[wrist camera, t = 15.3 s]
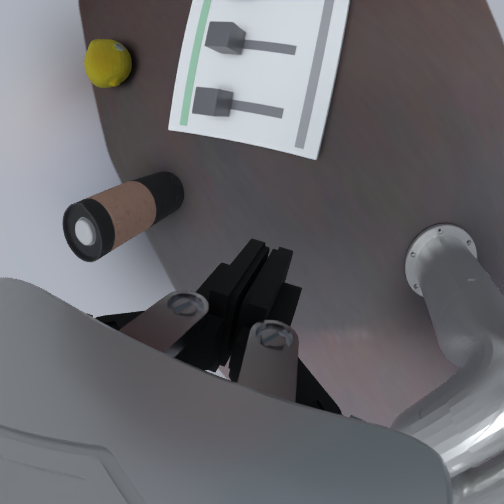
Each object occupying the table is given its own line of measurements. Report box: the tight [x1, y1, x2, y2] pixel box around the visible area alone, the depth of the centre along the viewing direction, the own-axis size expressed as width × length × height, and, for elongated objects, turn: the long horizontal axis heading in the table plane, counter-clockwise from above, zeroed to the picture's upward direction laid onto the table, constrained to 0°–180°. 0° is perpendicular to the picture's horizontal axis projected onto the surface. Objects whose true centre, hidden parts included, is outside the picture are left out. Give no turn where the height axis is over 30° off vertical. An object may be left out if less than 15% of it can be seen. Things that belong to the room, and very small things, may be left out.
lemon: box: [84, 39, 132, 88], centre depth 37 cm, size 11×8×8 cm
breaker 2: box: [192, 87, 233, 117], centre depth 34 cm, size 3×4×5 cm
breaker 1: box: [204, 21, 246, 55], centre depth 30 cm, size 3×4×5 cm
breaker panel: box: [168, 0, 350, 160], centre depth 34 cm, size 22×28×3 cm
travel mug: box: [63, 172, 184, 262], centre depth 40 cm, size 8×8×20 cm
